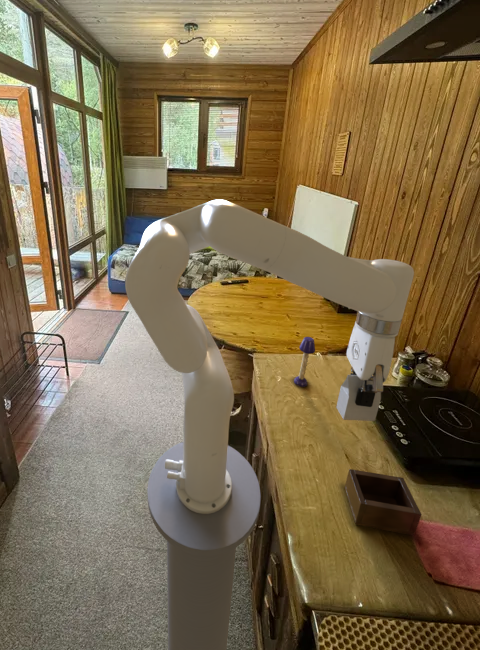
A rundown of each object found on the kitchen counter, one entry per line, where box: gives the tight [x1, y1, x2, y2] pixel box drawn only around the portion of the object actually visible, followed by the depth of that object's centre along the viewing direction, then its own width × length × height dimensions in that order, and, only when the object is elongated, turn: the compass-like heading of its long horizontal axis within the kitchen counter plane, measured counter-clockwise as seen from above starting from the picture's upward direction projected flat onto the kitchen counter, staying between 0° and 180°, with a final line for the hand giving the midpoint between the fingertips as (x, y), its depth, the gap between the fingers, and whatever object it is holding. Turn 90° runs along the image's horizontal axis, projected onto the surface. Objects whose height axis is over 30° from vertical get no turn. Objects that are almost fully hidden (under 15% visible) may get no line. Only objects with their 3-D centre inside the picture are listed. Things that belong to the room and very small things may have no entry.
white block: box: [336, 374, 382, 422], centre depth 67 cm, size 4×7×10 cm, turn 89°
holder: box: [344, 468, 422, 536], centre depth 62 cm, size 11×7×6 cm
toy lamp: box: [293, 336, 316, 388], centre depth 99 cm, size 5×5×17 cm
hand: (359, 396), depth 67 cm, fingers closed on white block, 4 cm apart
